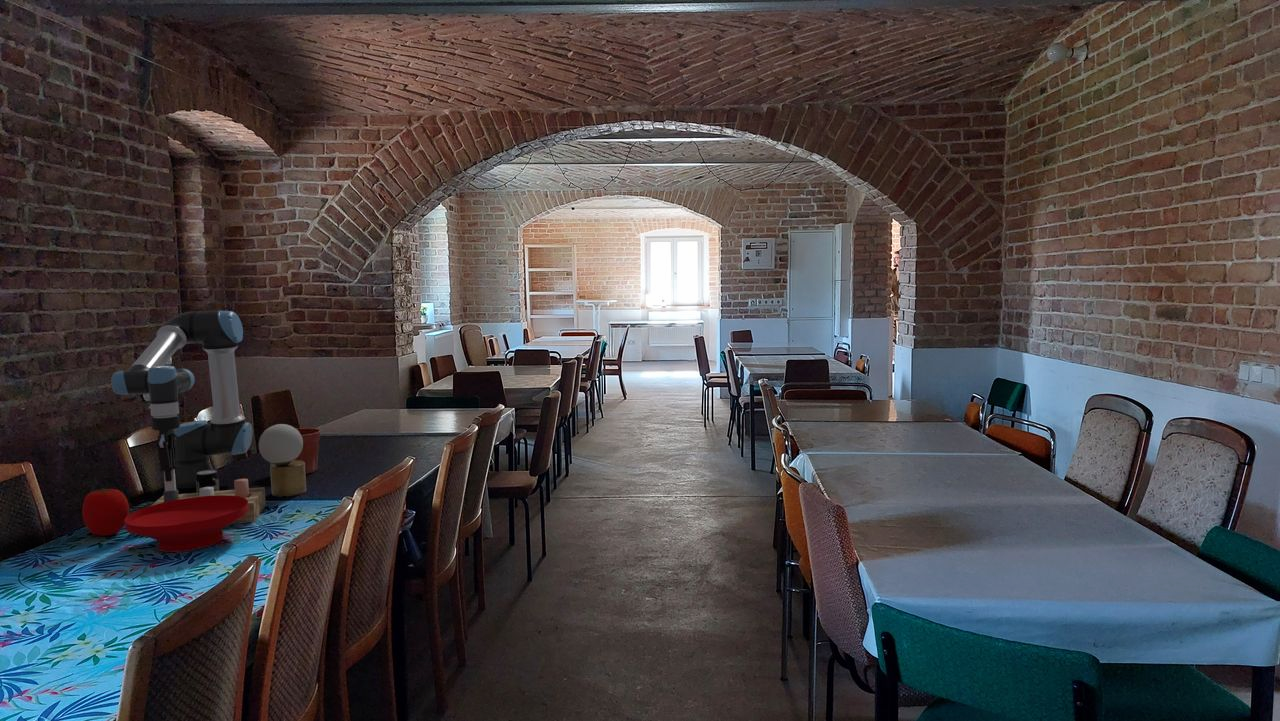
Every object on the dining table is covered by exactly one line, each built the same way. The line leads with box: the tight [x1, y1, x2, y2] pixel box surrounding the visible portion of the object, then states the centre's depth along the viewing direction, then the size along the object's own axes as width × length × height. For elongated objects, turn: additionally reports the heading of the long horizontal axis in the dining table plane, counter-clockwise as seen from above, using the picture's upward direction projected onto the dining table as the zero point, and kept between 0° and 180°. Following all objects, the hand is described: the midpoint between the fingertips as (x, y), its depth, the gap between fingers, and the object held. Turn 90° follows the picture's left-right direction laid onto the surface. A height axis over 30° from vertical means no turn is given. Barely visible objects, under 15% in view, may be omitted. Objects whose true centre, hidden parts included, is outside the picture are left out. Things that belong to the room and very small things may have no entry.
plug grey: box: [199, 487, 214, 497], centre depth 245 cm, size 4×4×9 cm
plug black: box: [162, 489, 179, 502], centre depth 242 cm, size 4×4×9 cm
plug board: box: [150, 486, 267, 525], centre depth 245 cm, size 20×30×6 cm, turn 107°
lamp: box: [258, 423, 307, 498], centre depth 271 cm, size 15×14×25 cm
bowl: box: [124, 495, 249, 553], centre depth 220 cm, size 30×30×10 cm
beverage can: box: [195, 469, 220, 493], centre depth 257 cm, size 7×7×12 cm
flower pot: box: [294, 427, 322, 475], centre depth 305 cm, size 16×16×16 cm
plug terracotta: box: [233, 478, 249, 498], centre depth 247 cm, size 4×4×9 cm
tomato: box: [81, 487, 130, 537], centre depth 230 cm, size 13×11×14 cm
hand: (170, 490), depth 241 cm, fingers closed
